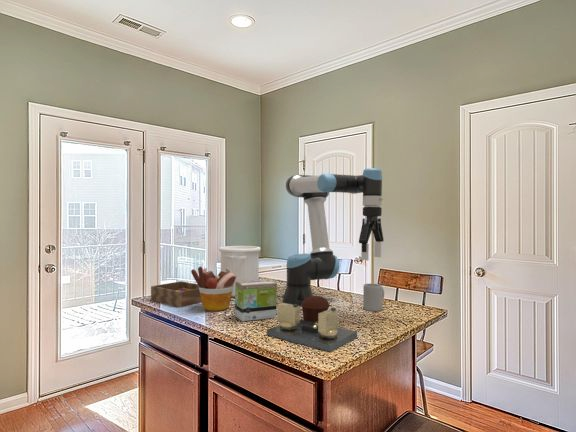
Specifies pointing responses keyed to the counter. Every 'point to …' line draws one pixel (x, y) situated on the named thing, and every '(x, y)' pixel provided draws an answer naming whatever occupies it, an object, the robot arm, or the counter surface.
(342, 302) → the counter surface
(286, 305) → the knob
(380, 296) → the mug
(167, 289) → the book tray
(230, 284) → the bucket of meat
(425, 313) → the counter surface
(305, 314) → the muffin
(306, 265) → the robot arm
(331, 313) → the knob
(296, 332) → the levelling plate
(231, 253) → the bucket
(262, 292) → the tea box
